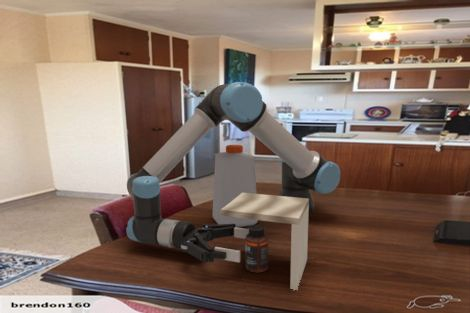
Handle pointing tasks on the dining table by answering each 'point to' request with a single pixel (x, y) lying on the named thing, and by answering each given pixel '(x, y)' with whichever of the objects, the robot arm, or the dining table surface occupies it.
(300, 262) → the cream l-shaped stand
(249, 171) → the plastic bottle
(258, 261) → the supplement bottle
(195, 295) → the dining table surface
